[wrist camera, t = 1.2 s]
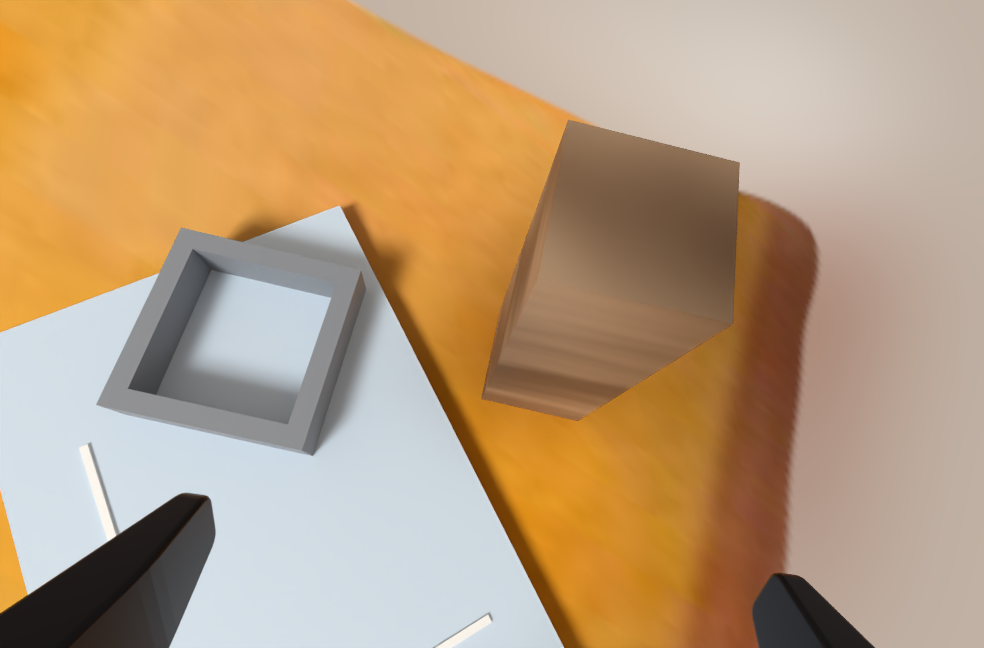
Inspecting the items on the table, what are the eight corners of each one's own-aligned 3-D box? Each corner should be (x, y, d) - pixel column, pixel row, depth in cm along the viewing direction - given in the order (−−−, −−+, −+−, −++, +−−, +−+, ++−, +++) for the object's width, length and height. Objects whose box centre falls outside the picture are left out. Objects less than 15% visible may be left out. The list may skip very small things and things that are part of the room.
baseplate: (594, 713, 20) (619, 743, 18) (161, 1030, 16) (109, 1131, 13) (339, 208, 26) (329, 174, 24) (-24, 345, 22) (-84, 322, 19)
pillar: (577, 420, 24) (732, 324, 12) (481, 398, 24) (538, 277, 12) (591, 329, 26) (739, 162, 13) (500, 308, 25) (568, 119, 13)
